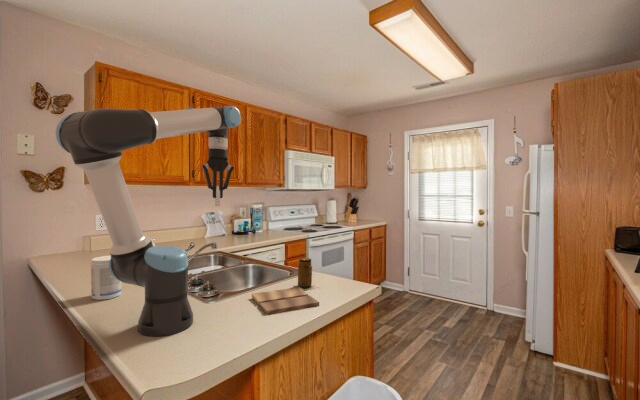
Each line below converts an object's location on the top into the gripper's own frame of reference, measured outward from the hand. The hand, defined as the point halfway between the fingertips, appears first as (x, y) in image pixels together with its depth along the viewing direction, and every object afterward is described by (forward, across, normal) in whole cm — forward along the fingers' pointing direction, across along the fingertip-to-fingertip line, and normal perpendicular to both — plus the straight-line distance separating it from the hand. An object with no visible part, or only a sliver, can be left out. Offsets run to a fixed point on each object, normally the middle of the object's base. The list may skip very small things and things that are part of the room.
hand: (217, 206), depth 131 cm
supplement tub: (+35, -39, +7) cm, 53 cm away
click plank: (+34, +20, -22) cm, 45 cm away
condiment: (+35, +35, -13) cm, 51 cm away
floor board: (+34, +20, -31) cm, 50 cm away
